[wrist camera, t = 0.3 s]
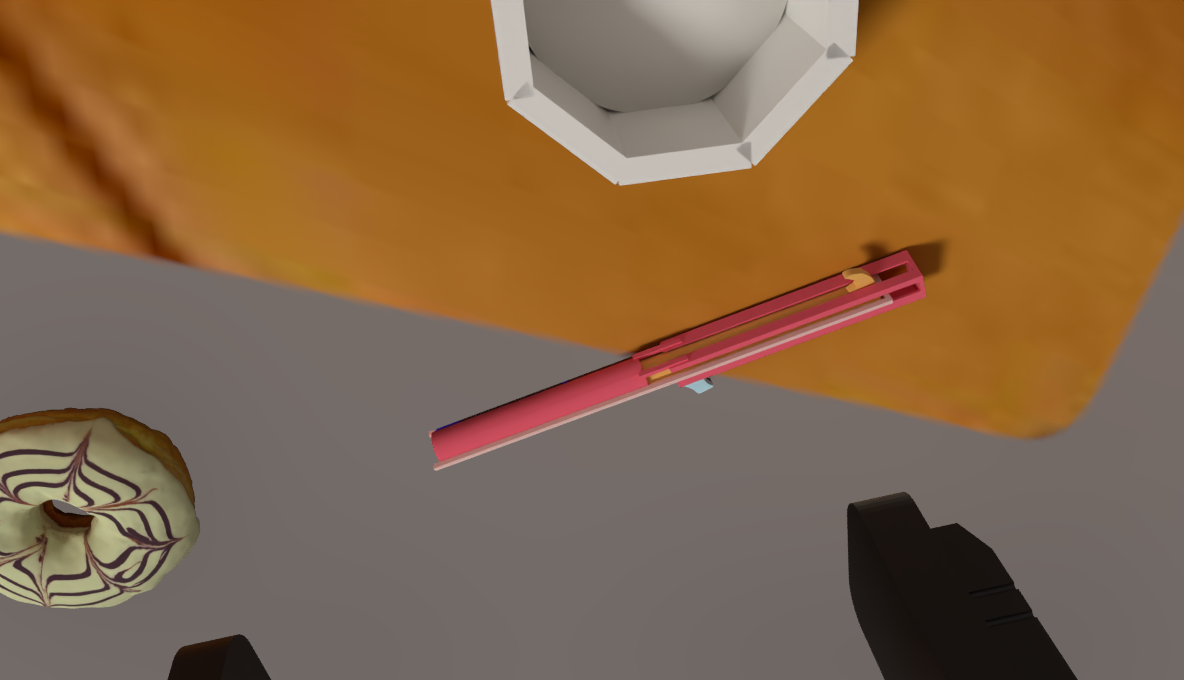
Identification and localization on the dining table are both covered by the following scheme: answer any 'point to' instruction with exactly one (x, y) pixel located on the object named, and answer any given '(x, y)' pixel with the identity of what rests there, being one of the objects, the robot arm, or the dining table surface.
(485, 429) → the red piece
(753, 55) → the bowl
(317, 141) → the dining table surface
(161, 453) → the decorated donut
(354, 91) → the dining table surface
